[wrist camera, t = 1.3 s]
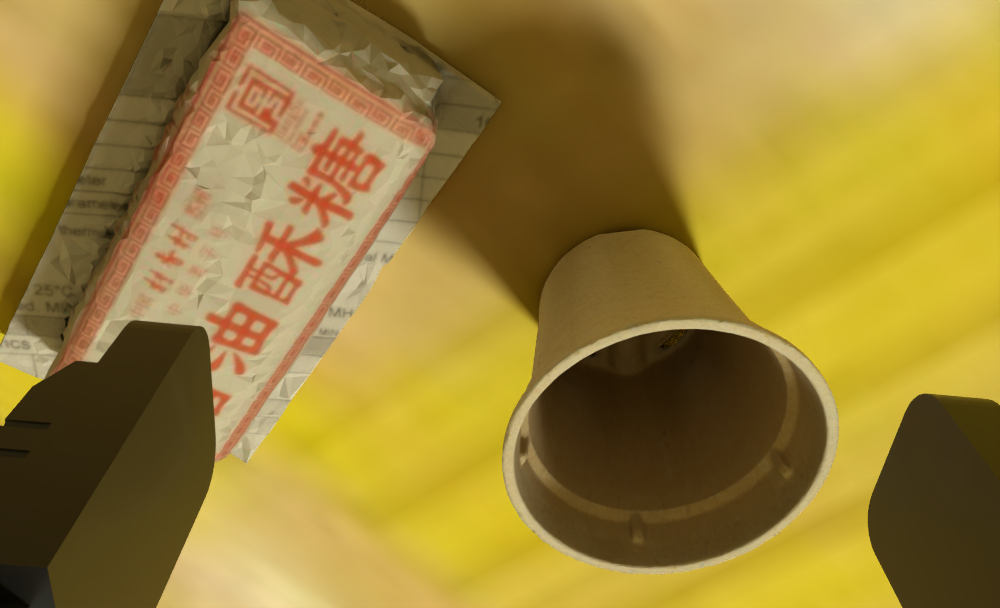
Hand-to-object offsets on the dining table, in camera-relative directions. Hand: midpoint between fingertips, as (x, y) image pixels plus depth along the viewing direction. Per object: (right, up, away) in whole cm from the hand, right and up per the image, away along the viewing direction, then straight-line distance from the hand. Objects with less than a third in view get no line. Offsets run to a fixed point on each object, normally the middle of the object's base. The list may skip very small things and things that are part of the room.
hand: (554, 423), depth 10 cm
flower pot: (+4, +2, +22) cm, 22 cm away
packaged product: (-10, +4, +20) cm, 23 cm away
